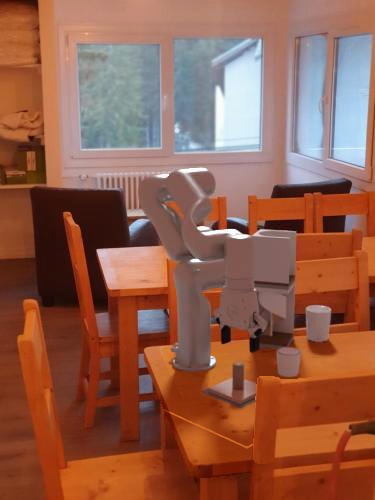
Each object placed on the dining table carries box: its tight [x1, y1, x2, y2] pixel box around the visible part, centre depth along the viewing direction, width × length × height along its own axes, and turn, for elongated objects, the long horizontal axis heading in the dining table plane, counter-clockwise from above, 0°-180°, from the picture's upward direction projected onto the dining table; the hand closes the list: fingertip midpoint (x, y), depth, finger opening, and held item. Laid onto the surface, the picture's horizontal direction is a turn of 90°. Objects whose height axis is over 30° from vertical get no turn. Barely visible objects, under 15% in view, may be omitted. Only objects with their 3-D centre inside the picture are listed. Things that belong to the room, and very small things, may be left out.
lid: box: [208, 362, 256, 404], centre depth 185 cm, size 11×11×8 cm
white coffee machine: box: [251, 228, 297, 350], centre depth 218 cm, size 11×11×35 cm
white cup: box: [305, 304, 332, 343], centre depth 224 cm, size 8×8×10 cm
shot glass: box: [275, 346, 302, 378], centre depth 196 cm, size 7×7×7 cm
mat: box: [200, 387, 256, 409], centre depth 186 cm, size 14×14×1 cm
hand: (239, 347), depth 182 cm, fingers open, 9 cm apart
